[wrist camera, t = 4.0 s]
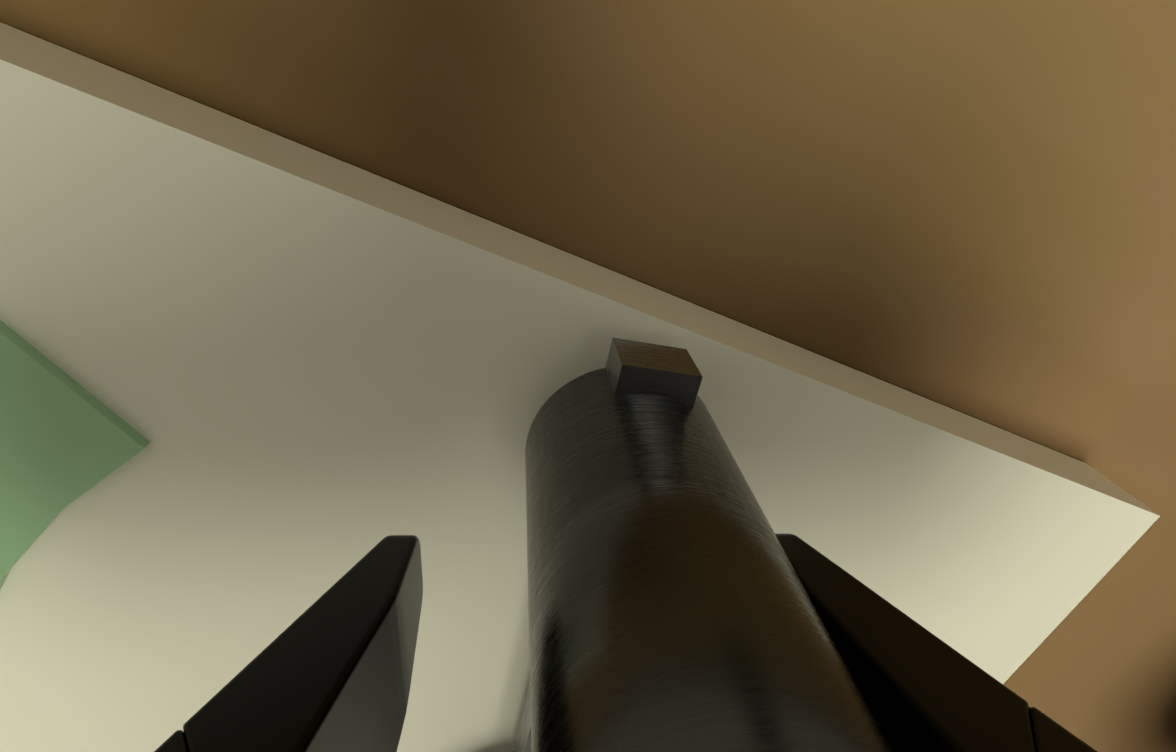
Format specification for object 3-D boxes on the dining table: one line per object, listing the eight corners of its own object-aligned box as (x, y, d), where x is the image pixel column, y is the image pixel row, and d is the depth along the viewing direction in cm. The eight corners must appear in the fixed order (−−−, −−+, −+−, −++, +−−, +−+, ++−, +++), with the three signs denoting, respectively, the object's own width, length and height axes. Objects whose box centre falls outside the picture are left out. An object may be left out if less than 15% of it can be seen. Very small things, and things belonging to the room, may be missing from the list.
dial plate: (669, 953, 23) (682, 1035, 21) (-177, 854, 17) (-268, 958, 15) (1085, 463, 16) (1169, 521, 14) (-207, -62, 9) (-405, -96, 7)
